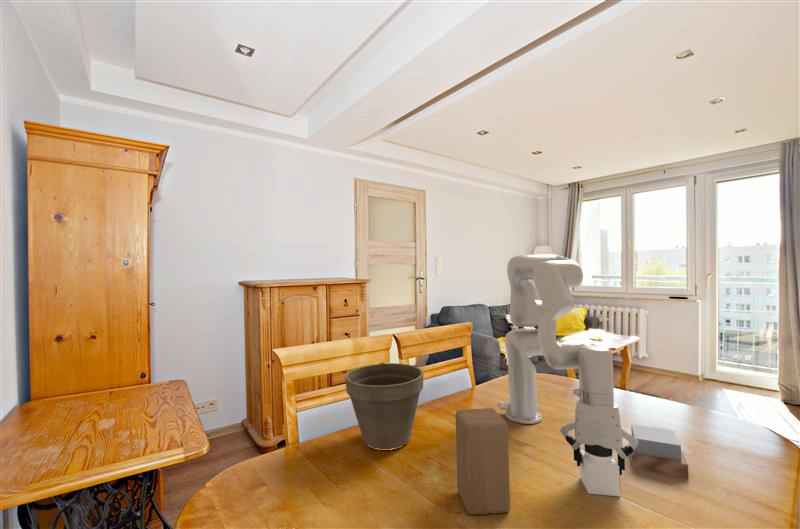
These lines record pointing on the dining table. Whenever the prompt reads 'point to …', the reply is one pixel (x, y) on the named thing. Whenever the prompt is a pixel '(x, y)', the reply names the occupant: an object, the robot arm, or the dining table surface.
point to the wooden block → (482, 461)
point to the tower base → (660, 464)
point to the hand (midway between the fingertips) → (598, 467)
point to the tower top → (656, 442)
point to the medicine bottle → (599, 471)
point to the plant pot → (385, 402)
